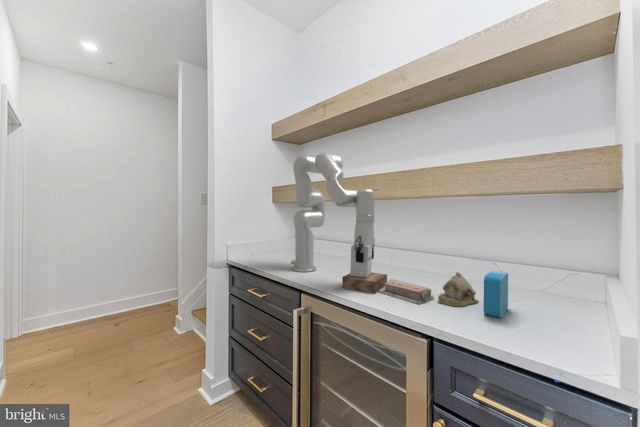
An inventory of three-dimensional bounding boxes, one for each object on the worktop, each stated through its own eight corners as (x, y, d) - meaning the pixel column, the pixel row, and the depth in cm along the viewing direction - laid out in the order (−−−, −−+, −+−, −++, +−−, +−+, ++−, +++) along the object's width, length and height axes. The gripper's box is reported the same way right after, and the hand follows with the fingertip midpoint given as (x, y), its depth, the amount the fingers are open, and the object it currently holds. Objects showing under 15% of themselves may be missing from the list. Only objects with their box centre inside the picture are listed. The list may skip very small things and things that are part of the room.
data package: (491, 305, 91) (492, 269, 91) (508, 308, 88) (508, 271, 88) (483, 315, 82) (483, 276, 82) (500, 319, 79) (501, 278, 79)
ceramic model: (449, 293, 105) (450, 267, 104) (482, 300, 96) (482, 272, 96) (432, 301, 95) (432, 273, 95) (466, 310, 87) (467, 279, 87)
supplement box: (367, 278, 109) (368, 246, 109) (349, 275, 112) (350, 245, 112) (371, 274, 116) (372, 244, 116) (355, 271, 119) (355, 243, 119)
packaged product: (435, 286, 98) (419, 292, 92) (435, 300, 98) (419, 306, 92) (393, 276, 112) (377, 280, 106) (393, 288, 112) (377, 293, 106)
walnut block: (342, 289, 111) (342, 276, 111) (356, 281, 123) (356, 270, 123) (375, 294, 104) (375, 281, 104) (387, 286, 116) (387, 274, 116)
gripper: (365, 218, 122) (365, 256, 123) (346, 219, 108) (346, 262, 108) (381, 218, 118) (381, 258, 118) (364, 220, 104) (363, 265, 104)
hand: (365, 260), depth 113 cm, fingers open, 9 cm apart
